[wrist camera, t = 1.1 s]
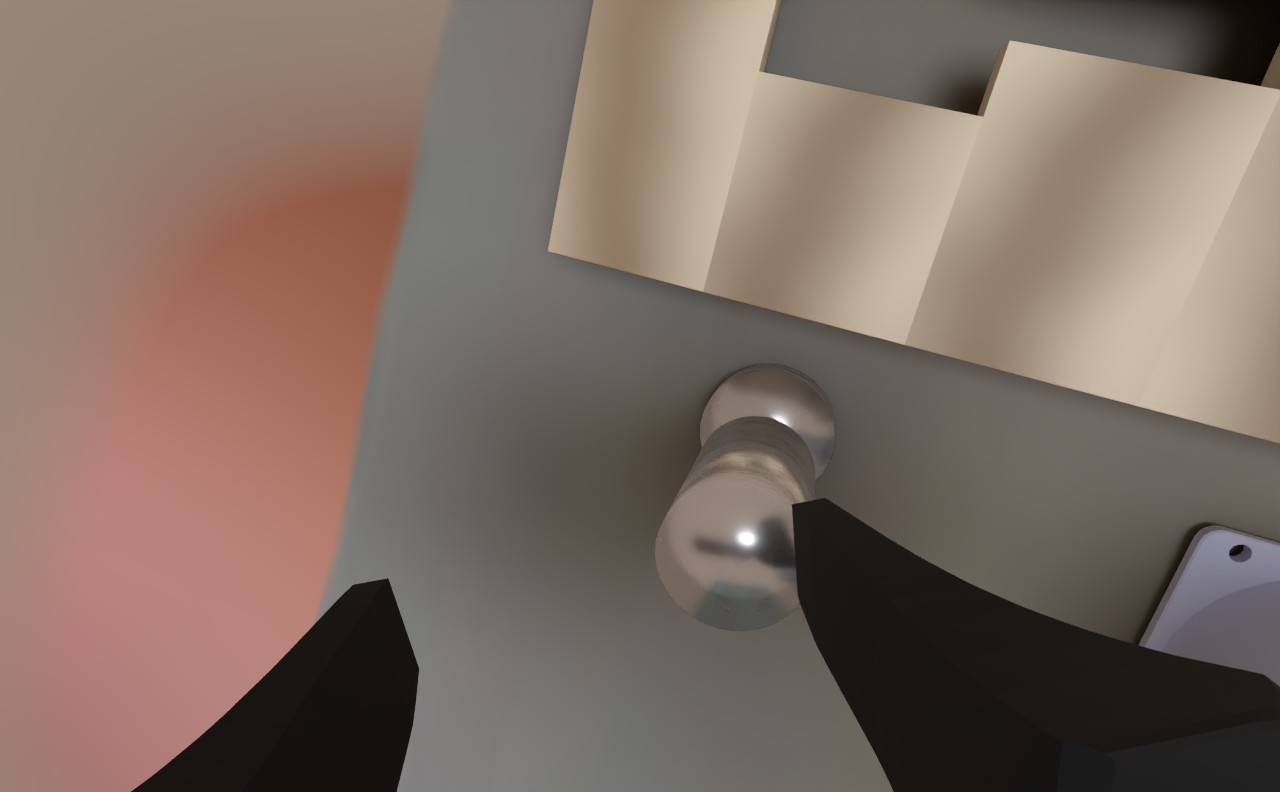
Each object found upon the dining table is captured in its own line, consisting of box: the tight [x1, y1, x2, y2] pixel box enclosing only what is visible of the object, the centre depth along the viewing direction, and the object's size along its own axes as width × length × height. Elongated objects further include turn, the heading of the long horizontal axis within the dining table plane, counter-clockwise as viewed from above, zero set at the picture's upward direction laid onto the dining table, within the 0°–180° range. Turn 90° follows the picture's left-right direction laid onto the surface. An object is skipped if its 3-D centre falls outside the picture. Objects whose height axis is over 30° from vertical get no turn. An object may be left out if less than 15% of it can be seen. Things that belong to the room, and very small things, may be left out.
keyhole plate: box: [548, 0, 1280, 443], centre depth 16 cm, size 22×16×3 cm
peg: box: [655, 364, 835, 631], centre depth 18 cm, size 4×4×9 cm
